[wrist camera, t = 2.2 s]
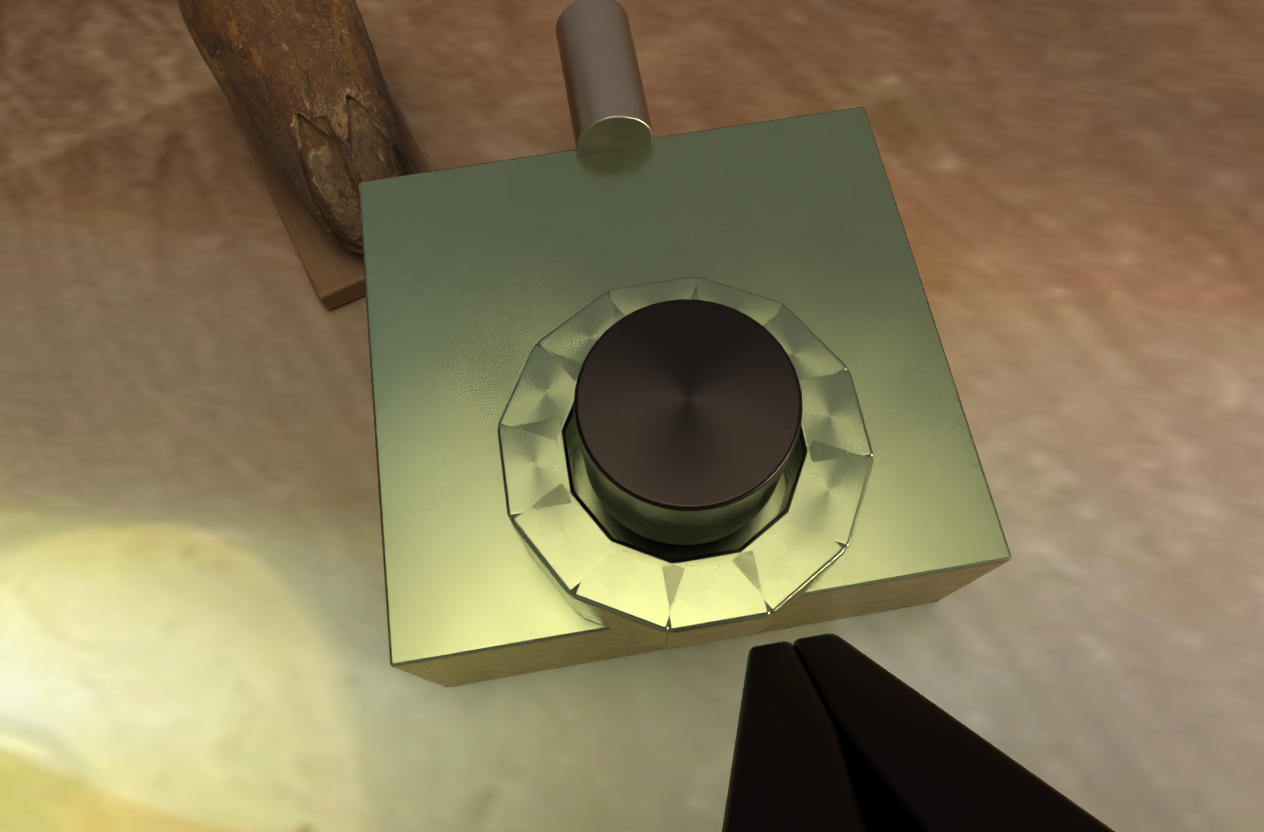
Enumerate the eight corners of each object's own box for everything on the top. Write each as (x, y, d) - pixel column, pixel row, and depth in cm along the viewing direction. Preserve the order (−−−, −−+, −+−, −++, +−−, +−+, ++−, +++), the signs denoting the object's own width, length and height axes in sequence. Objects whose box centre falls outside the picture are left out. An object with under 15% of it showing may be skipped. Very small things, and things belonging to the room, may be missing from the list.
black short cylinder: (803, 527, 16) (828, 489, 13) (600, 562, 15) (591, 528, 13) (758, 344, 17) (774, 281, 15) (570, 374, 17) (559, 315, 15)
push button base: (945, 624, 21) (1074, 563, 15) (446, 711, 21) (354, 687, 14) (827, 220, 26) (887, 33, 19) (409, 285, 25) (325, 116, 19)
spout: (653, 163, 21) (653, 111, 20) (579, 173, 21) (574, 123, 20) (628, 47, 23) (627, -10, 21) (559, 57, 23) (551, 1, 21)
